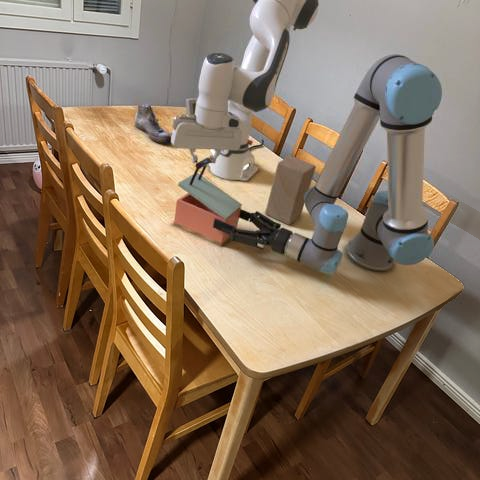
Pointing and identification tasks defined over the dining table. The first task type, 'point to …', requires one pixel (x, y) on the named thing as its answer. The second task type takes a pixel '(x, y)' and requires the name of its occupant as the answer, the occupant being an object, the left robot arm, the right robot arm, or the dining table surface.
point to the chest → (201, 219)
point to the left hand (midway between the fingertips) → (203, 162)
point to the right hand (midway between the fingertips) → (222, 216)
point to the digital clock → (191, 106)
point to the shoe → (151, 124)
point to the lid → (209, 192)
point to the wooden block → (289, 189)
